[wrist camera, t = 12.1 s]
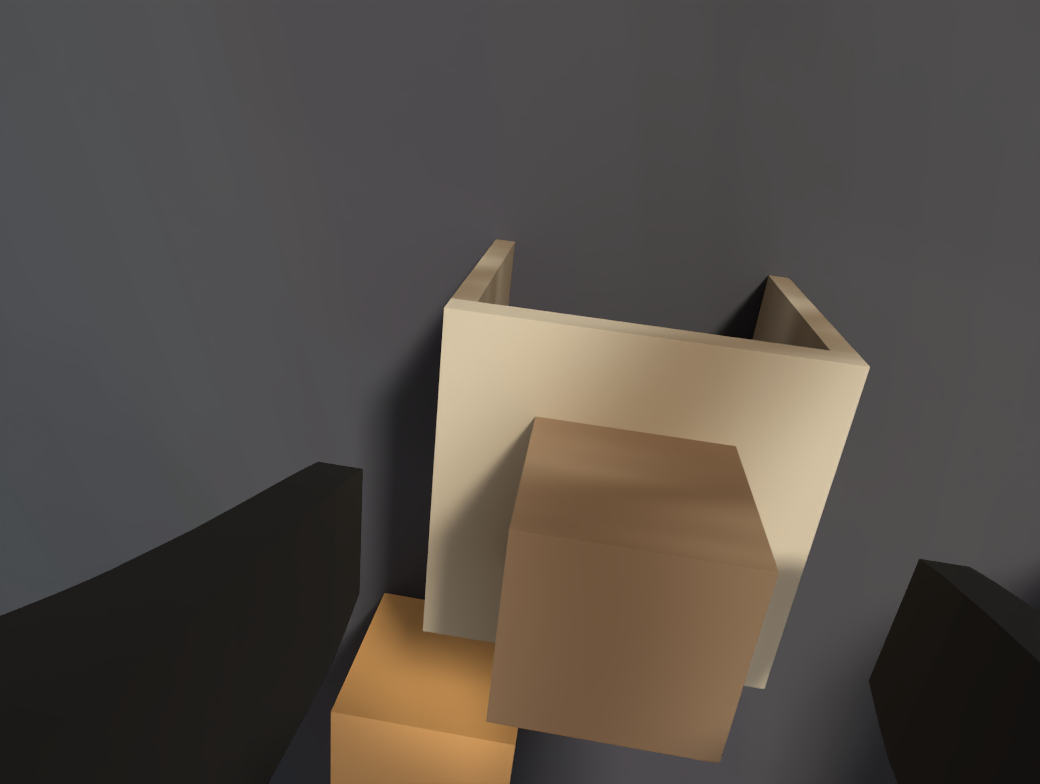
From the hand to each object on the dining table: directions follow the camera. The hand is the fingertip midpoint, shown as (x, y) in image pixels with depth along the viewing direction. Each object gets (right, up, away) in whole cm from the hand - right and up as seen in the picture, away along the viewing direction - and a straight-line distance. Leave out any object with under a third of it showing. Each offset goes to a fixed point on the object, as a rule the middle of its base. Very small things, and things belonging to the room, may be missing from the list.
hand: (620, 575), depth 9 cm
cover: (+1, +2, +6) cm, 7 cm away
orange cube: (-3, -5, +10) cm, 12 cm away
